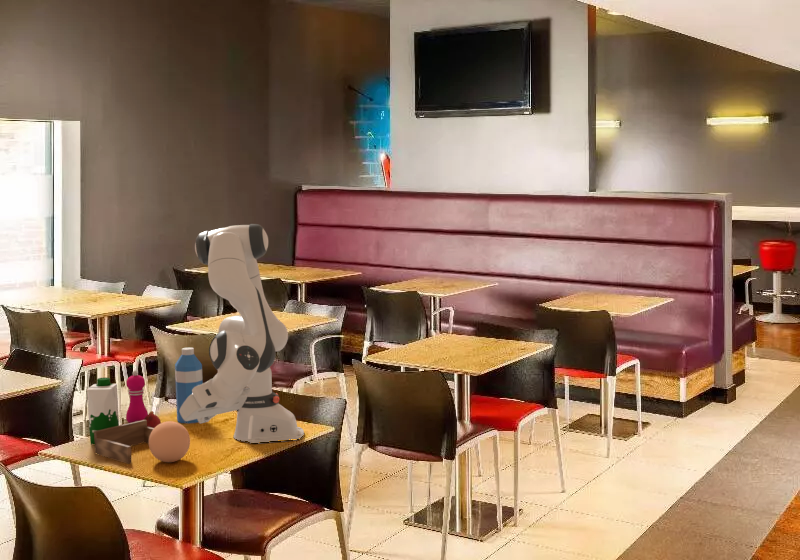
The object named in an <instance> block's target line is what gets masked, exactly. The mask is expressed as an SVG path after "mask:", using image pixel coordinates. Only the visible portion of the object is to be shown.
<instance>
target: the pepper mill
mask: <svg viewBox="0 0 800 560" xmlns="http://www.w3.org/2000/svg"><path fill="white" fill-rule="evenodd" d="M125 385H126V387H127V389H128V390H127V392H128V396H129V404H128V405H129V406H128V407H127V411H126V414H125V418H126V419H125V420H126V422H127V423H132V422H136V421H141V420H144V418H145V417H146V416H147V415H148V414H149V413H148V409H147V408H146V405H145V402H144V398H143V397H144V394H145V392H144V391H145V390H144V387H145V385H146V380H145V378H144V377H143V376H141V375H139V371H137V370H133V371H132V375H130V376H129V377H128V378H127V379H126V383H125Z"/></svg>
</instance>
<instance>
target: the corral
mask: <svg viewBox="0 0 800 560" xmlns="http://www.w3.org/2000/svg"><path fill="white" fill-rule="evenodd" d="M153 429H154V428H152V427H148V426H147V420H141V421H136V422H132V423H129V422H127V423H124V424H121V425H120V424H119V426H115V427H111V428H107V429H102V430H98V431H94V442H95V445H94V453H97V454H99V455H98V456H101V455H102V456H101V457H104V456H105V458H107V457H108V458H107V459H112V460H115V461H118V462H121V463H125V464H132V461H133V460H132V446H133V447H134V446H136V445H140V443H141V444H144V443H145V444H147V445H149V437H150V434H151V432H152V430H153ZM97 454H96V455H97Z"/></svg>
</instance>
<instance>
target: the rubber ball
mask: <svg viewBox="0 0 800 560" xmlns="http://www.w3.org/2000/svg"><path fill="white" fill-rule="evenodd" d="M190 446H191V437H190V434H189V431H188V429H187V428H186V427H185V426H184V425H183V424H182V423H179V422H178V421H172V420H171V421H170V420H169V421H168V420H167V421H163V422H161V424H159V425H157V426H156V427H155V428H154V429H153V430H152V432H151V434H150V437H149V444H148V447H149V451H150V453H151V454H152V455H153V457H154V458H155V459H157V460H159V461H160V462H164V463H174V462H177V461H180V459H182V458H184V456H186V454H188V451H189V449H190Z"/></svg>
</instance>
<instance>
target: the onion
mask: <svg viewBox="0 0 800 560" xmlns="http://www.w3.org/2000/svg"><path fill="white" fill-rule="evenodd" d="M144 420H147V426H148V427H152V428H155V427H156V426H157V425H159V424H161V423H162V420H161V419H160V417H159V416H157V414H155V413H154V411H152V410H151V411H149V413H148V415H147V416H146V417H145V418H144Z"/></svg>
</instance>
